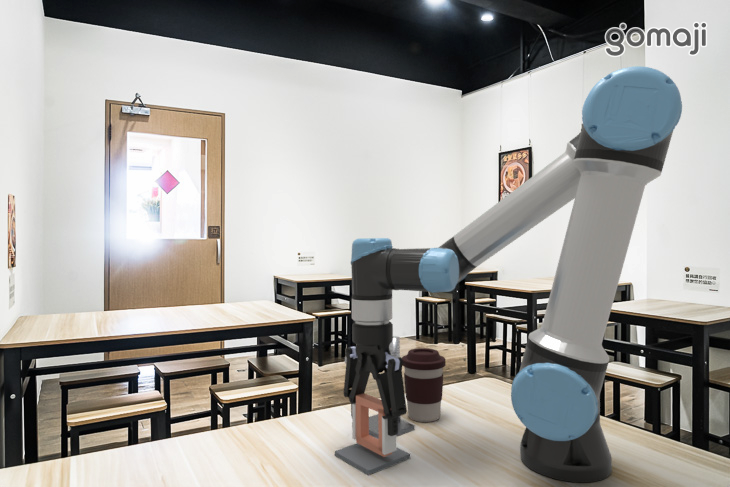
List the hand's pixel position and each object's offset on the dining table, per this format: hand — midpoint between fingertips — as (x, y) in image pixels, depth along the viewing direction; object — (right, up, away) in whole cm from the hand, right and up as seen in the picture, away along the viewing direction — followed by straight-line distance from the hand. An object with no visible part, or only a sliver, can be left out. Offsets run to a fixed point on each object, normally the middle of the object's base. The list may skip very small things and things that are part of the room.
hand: (373, 444), depth 88 cm
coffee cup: (+12, -3, +20) cm, 24 cm away
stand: (0, -2, +12) cm, 13 cm away
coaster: (0, -3, 0) cm, 3 cm away
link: (0, -1, 0) cm, 1 cm away
